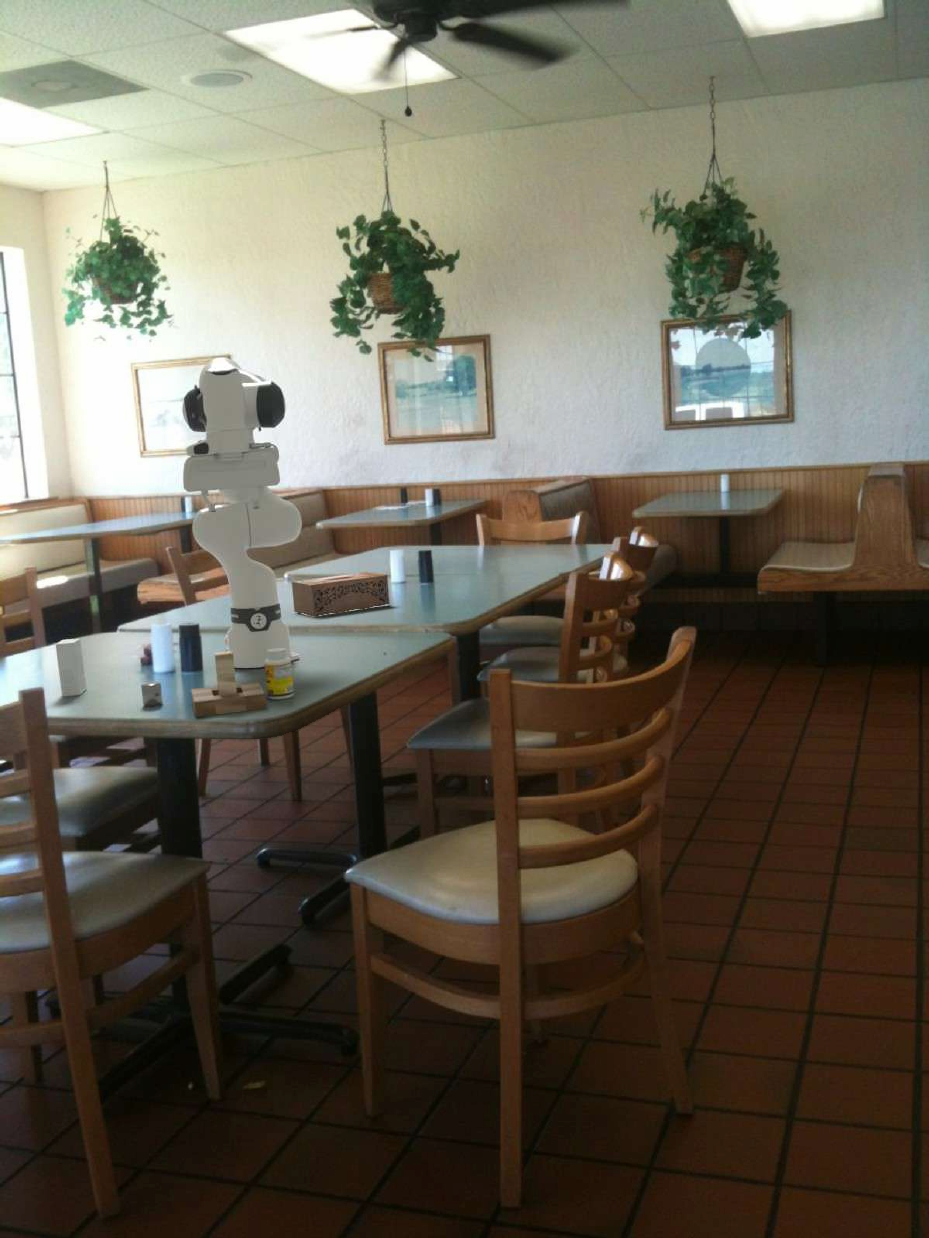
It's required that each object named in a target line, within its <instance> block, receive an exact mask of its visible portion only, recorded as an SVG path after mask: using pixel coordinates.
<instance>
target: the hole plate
mask: <svg viewBox="0 0 929 1238" xmlns="http://www.w3.org/2000/svg"><path fill="white" fill-rule="evenodd" d="M236 690H237V693H235V694H226V695H219V694H218V685H217V686H208V687H200V688H191V689H190V693H191V701H192V707H193V711H194V715H195V718H197V717H206V716H207V717H208V716H214V715H222V714H231V713H232V714H233V713H241V712H247V711H249V712H250V711H257V710H265V709H267V701H266V694H265V691H264V690H263V688H262V686H261V685H260V682H259V681H252V682H245V683H244V682H242V683H236Z"/></svg>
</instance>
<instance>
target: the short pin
mask: <svg viewBox="0 0 929 1238" xmlns="http://www.w3.org/2000/svg"><path fill="white" fill-rule="evenodd" d="M140 686H141V695H142V696H141V697H142V705H143V706H142V707H143V708H156V707H161V706H163V705H164V704H163V702H164V701H163V694H162V693H163V692H162V683H161V682H157V681H155V682H146V683H143V684H141V685H140Z"/></svg>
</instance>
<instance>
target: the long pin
mask: <svg viewBox="0 0 929 1238" xmlns="http://www.w3.org/2000/svg"><path fill="white" fill-rule="evenodd" d="M213 654H214V662H215V663H214V664H215V672H216V673H215V674H216V681H217V686H218V694H219V695H226V694H235V693H237V690H236V684H237V682H236V672H235V671H236V670H235V667H234V659H233V653H232V651H228V652H226V651H221V652H214V653H213Z"/></svg>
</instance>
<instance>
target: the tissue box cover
mask: <svg viewBox="0 0 929 1238" xmlns="http://www.w3.org/2000/svg"><path fill="white" fill-rule="evenodd" d="M388 577H389V576H388V574H383V573H376V572H370V571H369V572H368V571H363V572H356V573H349V574H341V575H333V576H325V577H319V578H309V579H302V580H295V581H291V587H292V588H291V589H292V599H293V610H294V611H293V612H297V613H304V614H307V615H311V616H319V615H324V614H329V613H339V612H345V611H349V610H354V609H365V608H370V607H373V606H381V605H385V604H390V594H389V593H390V592H389V580H388ZM297 613H296V614H297ZM339 614H340V613H339ZM319 617H320V616H319Z"/></svg>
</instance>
